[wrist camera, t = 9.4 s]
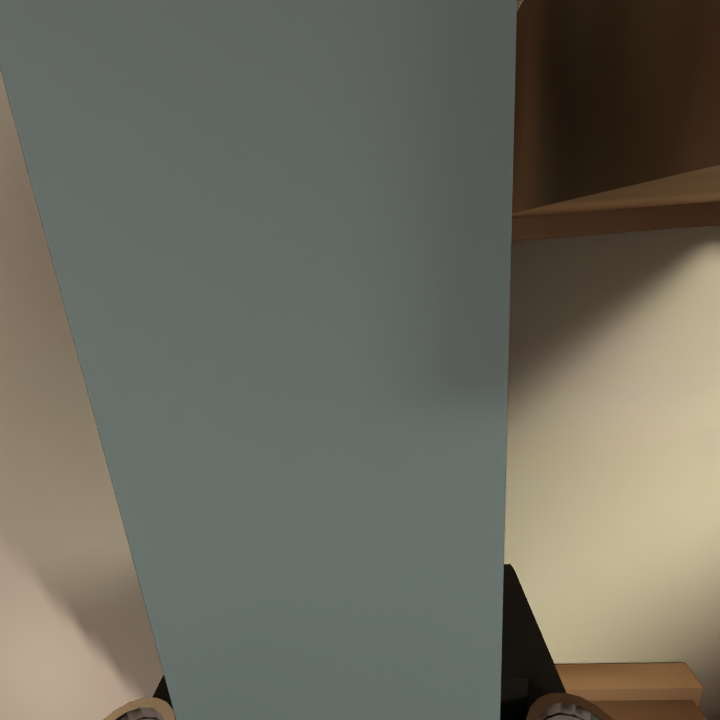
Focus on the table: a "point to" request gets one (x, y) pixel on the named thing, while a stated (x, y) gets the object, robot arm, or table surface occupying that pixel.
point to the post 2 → (636, 689)
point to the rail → (290, 331)
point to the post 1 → (615, 117)
